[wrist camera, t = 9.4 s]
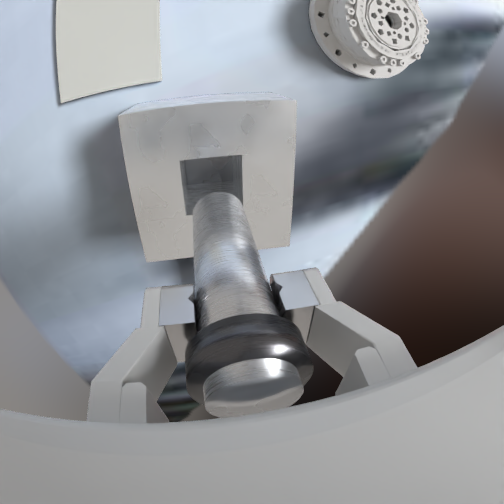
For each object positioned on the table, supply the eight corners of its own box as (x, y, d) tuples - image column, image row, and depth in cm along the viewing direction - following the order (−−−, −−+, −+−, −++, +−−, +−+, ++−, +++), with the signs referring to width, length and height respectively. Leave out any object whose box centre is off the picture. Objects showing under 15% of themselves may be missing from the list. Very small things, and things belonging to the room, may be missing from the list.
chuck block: (137, 103, 18) (117, 115, 13) (271, 92, 20) (296, 100, 15) (172, 296, 29) (171, 342, 25) (267, 285, 31) (282, 328, 26)
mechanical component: (309, 73, 19) (408, 83, 20) (333, 75, 16) (440, 91, 17) (303, -35, 13) (405, -11, 15) (325, -51, 10) (437, -15, 11)
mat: (60, -18, 10) (57, -20, 10) (160, -45, 11) (160, -48, 11) (64, 102, 17) (60, 103, 16) (162, 80, 18) (161, 80, 17)
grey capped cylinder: (179, 187, 12) (174, 378, 5) (252, 180, 13) (331, 354, 6) (188, 247, 14) (199, 429, 7) (252, 240, 15) (308, 411, 8)
